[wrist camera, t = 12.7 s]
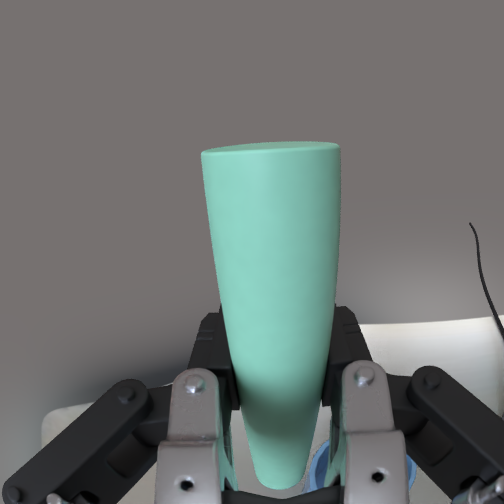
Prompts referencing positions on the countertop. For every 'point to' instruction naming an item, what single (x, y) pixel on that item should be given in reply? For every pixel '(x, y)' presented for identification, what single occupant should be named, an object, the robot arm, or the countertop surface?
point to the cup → (321, 463)
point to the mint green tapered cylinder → (276, 288)
